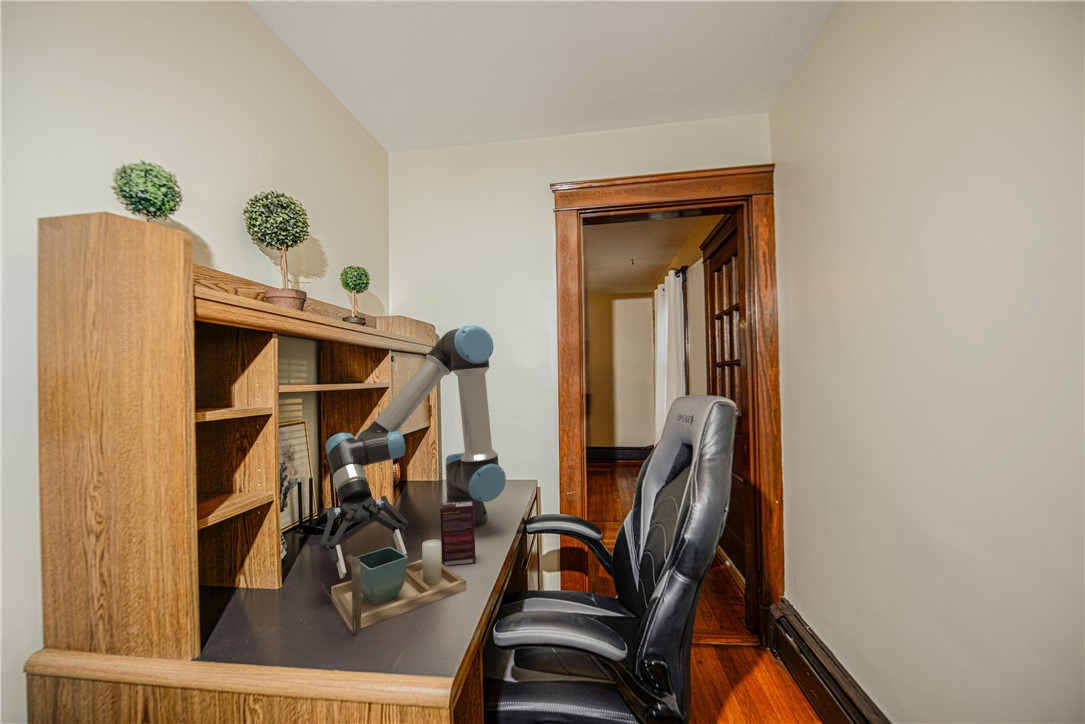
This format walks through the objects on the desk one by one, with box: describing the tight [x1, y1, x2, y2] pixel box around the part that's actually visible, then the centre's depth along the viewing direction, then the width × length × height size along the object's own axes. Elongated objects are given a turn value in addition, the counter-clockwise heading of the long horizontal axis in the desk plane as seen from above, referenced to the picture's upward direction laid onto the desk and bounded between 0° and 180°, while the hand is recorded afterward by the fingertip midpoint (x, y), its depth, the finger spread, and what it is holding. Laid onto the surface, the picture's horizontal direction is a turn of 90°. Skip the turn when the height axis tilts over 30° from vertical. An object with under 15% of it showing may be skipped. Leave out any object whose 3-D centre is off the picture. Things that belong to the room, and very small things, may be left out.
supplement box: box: [439, 501, 477, 568], centre depth 115 cm, size 9×5×16 cm, turn 98°
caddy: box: [330, 553, 467, 637], centre depth 99 cm, size 24×18×14 cm
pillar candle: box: [421, 539, 442, 586], centre depth 104 cm, size 4×4×9 cm
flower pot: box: [354, 546, 409, 605], centre depth 97 cm, size 9×9×9 cm
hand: (374, 566), depth 101 cm, fingers open, 13 cm apart
